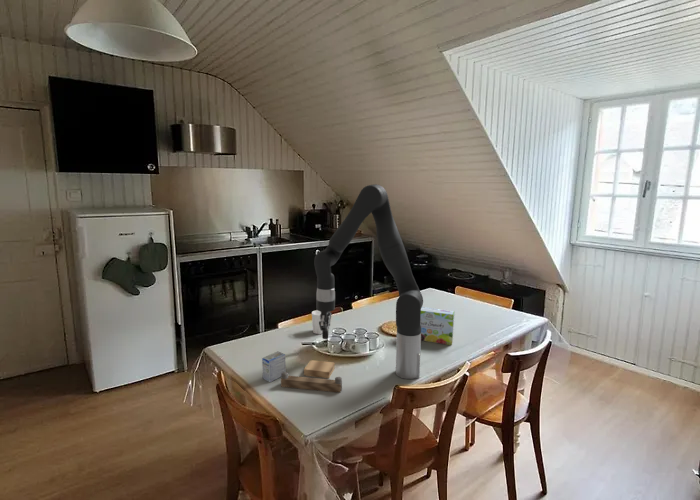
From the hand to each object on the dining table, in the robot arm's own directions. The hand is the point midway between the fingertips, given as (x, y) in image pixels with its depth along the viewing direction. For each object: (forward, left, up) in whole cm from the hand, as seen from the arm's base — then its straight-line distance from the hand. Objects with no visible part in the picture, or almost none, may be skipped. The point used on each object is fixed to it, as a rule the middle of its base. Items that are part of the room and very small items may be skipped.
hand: (325, 338), depth 168 cm
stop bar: (0, +23, -9) cm, 25 cm away
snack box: (-43, -29, -10) cm, 53 cm away
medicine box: (+16, +18, -10) cm, 26 cm away
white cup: (+10, -29, -10) cm, 32 cm away
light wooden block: (0, +11, -10) cm, 15 cm away
